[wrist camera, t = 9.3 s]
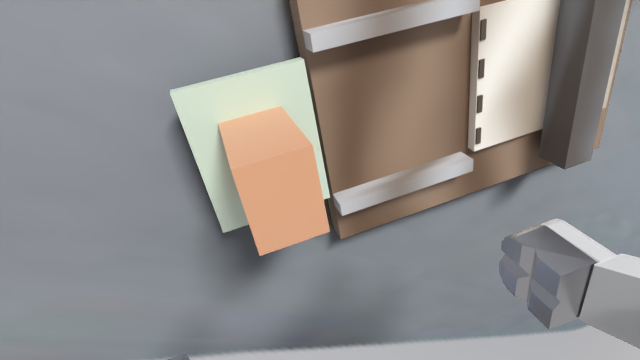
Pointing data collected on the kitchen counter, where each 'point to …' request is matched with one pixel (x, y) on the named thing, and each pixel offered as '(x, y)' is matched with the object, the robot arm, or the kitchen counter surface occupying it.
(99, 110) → the kitchen counter surface
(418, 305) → the kitchen counter surface
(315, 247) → the kitchen counter surface
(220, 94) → the orange block with base
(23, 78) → the kitchen counter surface
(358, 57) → the ticket board
